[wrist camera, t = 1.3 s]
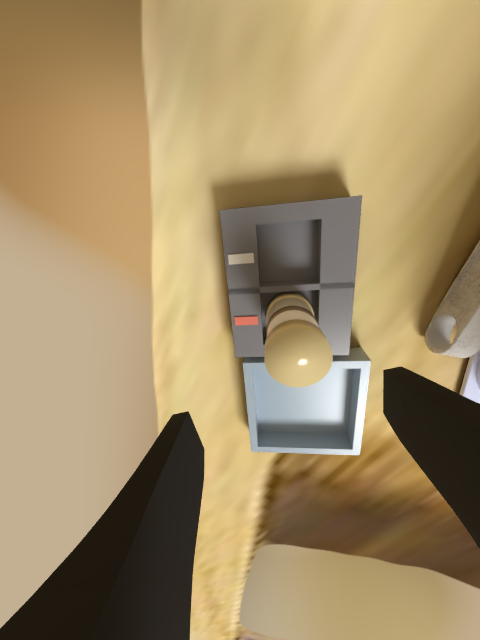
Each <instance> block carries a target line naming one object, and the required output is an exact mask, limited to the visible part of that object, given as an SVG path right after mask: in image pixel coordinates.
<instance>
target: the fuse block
mask: <svg viewBox="0 0 480 640" xmlns="http://www.w3.org/2000/svg"><path fill="white" fill-rule="evenodd" d="M361 203H362V196H353V197H343V198H333V199H324V200H314V201H304V202H294V203H285V204H275V205H265V206H256V207H246V208H236V209H227V210H219V212H220V221H221V230H222V239H223V249H224V258H225V267H226V276H227V285H228V294H229V303H230V313H231V322H232V331H233V340H234V349H235V357H264V355H265V341H266V338H267V323H266V310H267V306H268V303H269V302H270V300H271V299H272V298H273V297H274V296H275V295H277V294H279V293H281V292H289V291H294V292H298V293H300V294H302V295H303V296H305V297H306V298H307V300H308V301H309V303H310V305H311V307H312V309H313V312H314V317H315V318H316V320H317V323H318V325H319V328H320V329H321V330H322V332H323V333H324V335H325V337H326V339H327V341H328V343H329V345H330V347H331V350H332V354H333V355H349V349H350V336H351V324H352V312H353V300H354V288H355V276H356V264H357V251H358V239H359V227H360V215H361Z"/></svg>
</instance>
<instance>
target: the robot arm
mask: <svg viewBox="0 0 480 640" xmlns="http://www.w3.org/2000/svg"><path fill="white" fill-rule="evenodd" d="M383 413H384V415H385V417H386V418H387V420H388V422H389V423H390V425H391V427H392V429H393V430H394V432H395V433H396V435H397V437H398V438H399V440H400V441H401V443H402V444H403V445H404V447H405V448H406V449H407V451H408V452H409V453H410V455H411V456H412V457H413V459H414V460H415V461H416V462H417V464H418V465H419V466H420V468H421V469H422V470H423V472H424V473H425V474H426V475H427V477H428V478H429V479H430V481H431V482H432V483H433V485H434V486H435V487H436V488H437V490H438V491H439V492H440V494H441V495H442V496H443V498H444V499H445V500H446V501H447V503H448V504H449V505H450V507H451V508H452V509H453V511H454V512H455V513H456V515H457V516H458V517H459V519H460V520H461V522H462V523H463V524H464V526H465V527H466V529H467V530H468V532H469V533H470V535H471V536H472V538H473V539H474V541H475V542H476V544H477V545H478V547H479V548H480V349H479V350H478V351H477V352H476V353H475V354H473V355H472V356H470V358H469V362H468V365H467V369H466V372H465V376H464V379H463V383H462V386H461V390H460V393H459V394H458V393H456V392H453V391H451V390H449V389H447V388H445V387H443V386H441V385H439V384H437V383H435V382H433V381H431V380H429V379H427V378H425V377H422V376H420V375H418V374H416V373H414V372H412V371H410V370H408V369H405V368H403V367H396V368H392V369H387V370H384V389H383ZM203 482H204V447H203V445H202V443H201V440H200V438H199V435H198V433H197V431H196V428H195V426H194V423H193V421H192V419H191V416H190V414H189V411H188V412H183V413H178V414H174V415H172V417H171V418H170V420H169V421H168V423H167V424H166V426H165V427H164V429H163V430H162V432H161V433H160V435H159V436H158V438H157V439H156V441H155V442H154V444H153V446H152V447H151V449H150V450H149V452H148V453H147V454H146V456H145V457H144V459H143V460H142V462H141V463H140V465H139V466H138V468H137V469H136V471H135V472H134V474H133V475H132V476H131V478H130V479H129V481H128V482H127V483H126V485H125V486H124V488H123V489H122V490H121V491H120V493H119V494H118V496H117V497H116V498H115V500H114V501H113V502H112V504H111V505H110V506H109V508H108V509H107V510H106V512H105V513H104V514H103V515H102V516H101V518H100V519H99V520H98V521H97V523H96V524H95V525H94V526H93V527H92V529H91V530H90V531H89V532H88V533H87V535H86V536H85V537H84V538H83V539H82V541H81V542H80V543H79V544H78V545H77V546H76V548H75V549H74V550H73V551H72V552H71V553H70V555H69V556H68V557H67V558H66V559H65V560H64V561H63V562H62V563H61V564H60V566H59V567H58V568H57V569H56V570H55V571H54V572H53V573H52V574H51V576H50V577H49V578H48V579H47V580H46V581H45V582H44V583H43V584H42V585H41V587H40V588H39V589H38V590H37V591H36V592H35V593H34V594H33V595H32V596H31V597H30V599H29V600H28V601H27V602H26V603H25V604H24V605H23V606H22V607H21V608H20V609H19V610H18V611H17V612H16V613H15V614H14V615H13V616H12V617H11V618H10V619H9V620H8V621H7V622H6V623H5V625H3V626H2V627H1V628H0V640H190V614H191V594H192V575H193V564H194V554H195V546H196V538H197V530H198V522H199V515H200V507H201V499H202V490H203Z"/></svg>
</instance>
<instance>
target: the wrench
mask: <svg viewBox="0 0 480 640" xmlns="http://www.w3.org/2000/svg"><path fill="white" fill-rule="evenodd" d="M455 324H457V332H456V336H455V338H454V340H453V342H452V343H451V344H450V336H451V332H452V329H453V326H454V325H455ZM425 342H426V345H427V347H428V348H429V350H431V351H432V352H433V353H438V354H443V355H449V356H454V357H460V358H467V357H470V356H472V355H473V354H475V353H476V352H477V351H478V350H479V349H480V240H479V242H478V244H477V245H476V247H475V248H474V250H473V252H472V253H471V255H470V257H469V258H468V260H467V261H466V263H465V265H464V266H463V268H462V269H461V271H460V273H459V274H458V276H457V277H456V279H455V281H454V282H453V284H452V285H451V287H450V289H449V290H448V292H447V293H446V295H445V297H444V298H443V300H442V302H441V303H440V305H439V307H438V308H437V310H436V312H435V314H434V316H433V318H432V320H431V322H430V324H429V326H428V328H427V330H426V332H425Z"/></svg>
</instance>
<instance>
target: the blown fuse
mask: <svg viewBox="0 0 480 640" xmlns="http://www.w3.org/2000/svg"><path fill="white" fill-rule="evenodd" d="M266 323H267V338H266V341H265V355H264V361H265V366H266V369H267V371H268V373H269V374H270V375H271V376H272V378H274V379H275V380H276V381H278V382H279V383H281V384H283V385H286V386H290V387H306V386H310V385H313V384H315V383H317V382H319V381H320V380H321V379H323V378H324V377H325V376H326V374H327V373H328V372H329V370H330V368H331V365H332V361H333V354H332V350H331V347H330V345H329V343H328V341H327V339H326V337H325V335H324V333H323V332H322V330H321V329H320V328H319V325H318V323H317V320H316V318H315V317H314V312H313V309H312V307H311V305H310V303H309V301H308V300H307V298H306V297H305V296H303V295H302V294H300V293H298V292H294V291H289V292H281V293H279V294H277V295H275V296H274V297H273V298H272V299H271V300H270V302H269V303H268V306H267V310H266Z"/></svg>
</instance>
